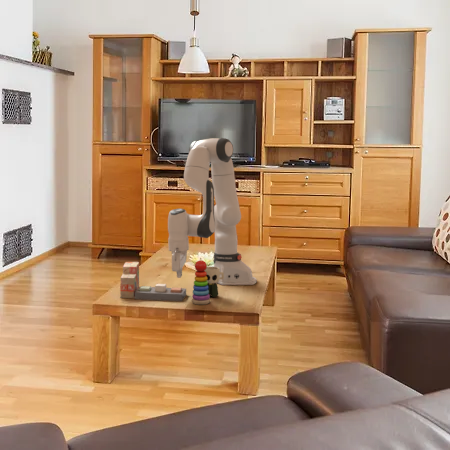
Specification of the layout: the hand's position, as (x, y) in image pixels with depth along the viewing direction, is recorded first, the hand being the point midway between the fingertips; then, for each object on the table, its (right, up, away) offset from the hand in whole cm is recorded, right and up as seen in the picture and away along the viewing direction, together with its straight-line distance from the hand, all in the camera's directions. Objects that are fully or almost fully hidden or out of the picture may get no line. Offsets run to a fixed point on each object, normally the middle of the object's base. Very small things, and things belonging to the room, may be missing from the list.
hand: (179, 277), depth 298 cm
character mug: (+14, -9, +5) cm, 17 cm away
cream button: (-8, -7, +2) cm, 11 cm away
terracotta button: (-2, -8, +1) cm, 8 cm away
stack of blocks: (-23, -8, +10) cm, 27 cm away
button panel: (-9, -9, +2) cm, 13 cm away
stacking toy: (+10, -11, -7) cm, 16 cm away
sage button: (-15, -8, +3) cm, 17 cm away
